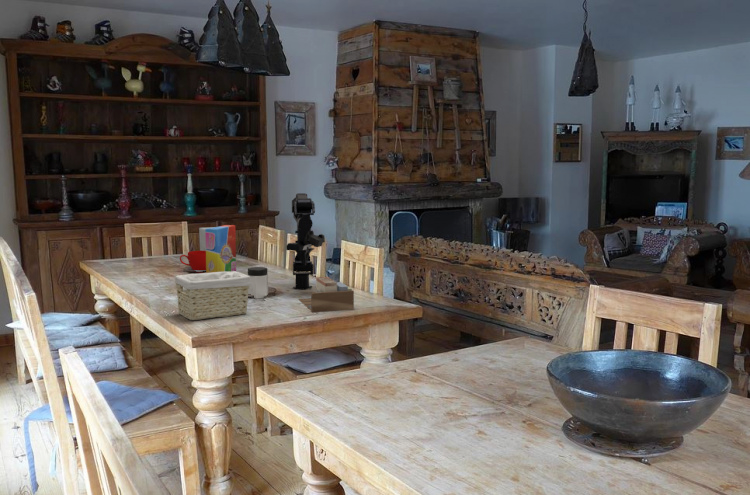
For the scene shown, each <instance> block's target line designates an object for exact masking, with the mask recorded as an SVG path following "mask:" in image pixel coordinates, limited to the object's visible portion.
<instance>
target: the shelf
mask: <svg viewBox="0 0 750 495" xmlns="http://www.w3.org/2000/svg"><path fill="white" fill-rule="evenodd" d="M354 294H355V291H354V290H353V289H352V290H351V291H334V292H317V293H316V292H311V293H310V295H311V296H310V298H298V299H297V300H298V301H299V302H301V303H302V305H304V306H305V307H306V309H308V310H309V311H310V312H312V313H319V312H321V313H322V312H323V313H324V312H334V311H335V312H337V311H353V310H355V309H354V306H355V301H354V298H355V297H354V296H355V295H354ZM308 305H311V309H310V308H309V307H308Z"/></svg>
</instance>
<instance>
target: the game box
mask: <svg viewBox="0 0 750 495" xmlns="http://www.w3.org/2000/svg"><path fill="white" fill-rule="evenodd" d="M236 233H237V231H236V224H235V225H234V224H231V225H230V224H223V225H220V226H214V228H208V229H205V236H206V272H205V273H212V272H232V271H236V272H237V246H236V245H237V244H236V243H237V242H236V240H237V239H236V238H237V236H236V235H237V234H236Z"/></svg>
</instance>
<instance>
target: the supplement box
mask: <svg viewBox="0 0 750 495" xmlns="http://www.w3.org/2000/svg"><path fill="white" fill-rule="evenodd" d="M214 227H215V226H214ZM214 227H213V226H210V227H199V228H198V231H199V232H198V233H199V251H206V236H205V229H208V228H214Z"/></svg>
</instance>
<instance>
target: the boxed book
mask: <svg viewBox="0 0 750 495" xmlns="http://www.w3.org/2000/svg"><path fill="white" fill-rule="evenodd" d="M315 285H316V289H319V290H320V291H321V292H334V291H337V281H335V280H334V279H332V278H330V277H329V276H316V284H315ZM316 289H315V290H316Z"/></svg>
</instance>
